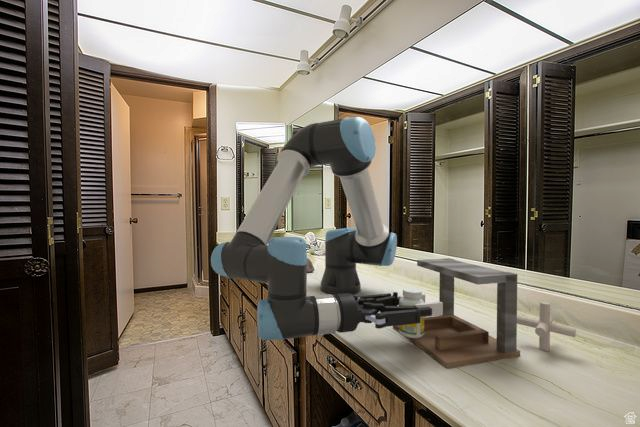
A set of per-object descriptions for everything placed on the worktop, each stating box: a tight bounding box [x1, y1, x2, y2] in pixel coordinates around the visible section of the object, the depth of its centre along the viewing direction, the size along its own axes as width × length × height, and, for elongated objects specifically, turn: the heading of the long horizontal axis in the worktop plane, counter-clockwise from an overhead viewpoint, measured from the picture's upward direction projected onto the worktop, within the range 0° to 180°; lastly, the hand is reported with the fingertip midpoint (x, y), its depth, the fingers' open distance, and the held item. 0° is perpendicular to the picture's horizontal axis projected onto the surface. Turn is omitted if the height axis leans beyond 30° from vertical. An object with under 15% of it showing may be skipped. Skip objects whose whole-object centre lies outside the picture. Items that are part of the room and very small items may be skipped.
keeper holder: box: [392, 257, 521, 369], centre depth 67 cm, size 20×18×17 cm
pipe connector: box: [517, 301, 577, 352], centre depth 63 cm, size 10×10×10 cm
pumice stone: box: [307, 257, 316, 273], centre depth 144 cm, size 15×8×10 cm, turn 25°
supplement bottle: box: [398, 287, 425, 338], centre depth 64 cm, size 5×5×10 cm
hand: (432, 304), depth 65 cm, fingers closed on supplement bottle, 5 cm apart
